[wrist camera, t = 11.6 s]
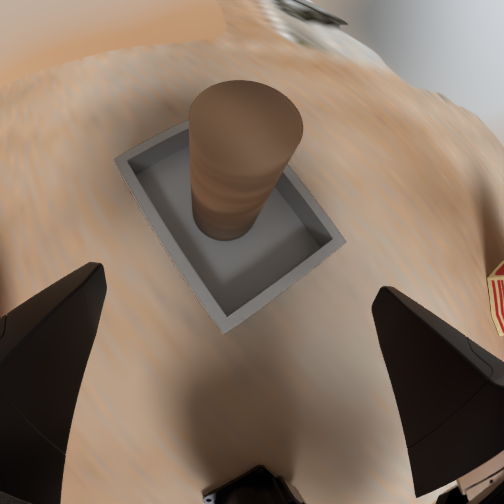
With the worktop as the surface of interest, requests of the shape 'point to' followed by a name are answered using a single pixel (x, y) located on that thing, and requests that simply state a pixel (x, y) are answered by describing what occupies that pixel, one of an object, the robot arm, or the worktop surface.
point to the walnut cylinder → (238, 153)
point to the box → (227, 252)
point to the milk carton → (497, 297)
